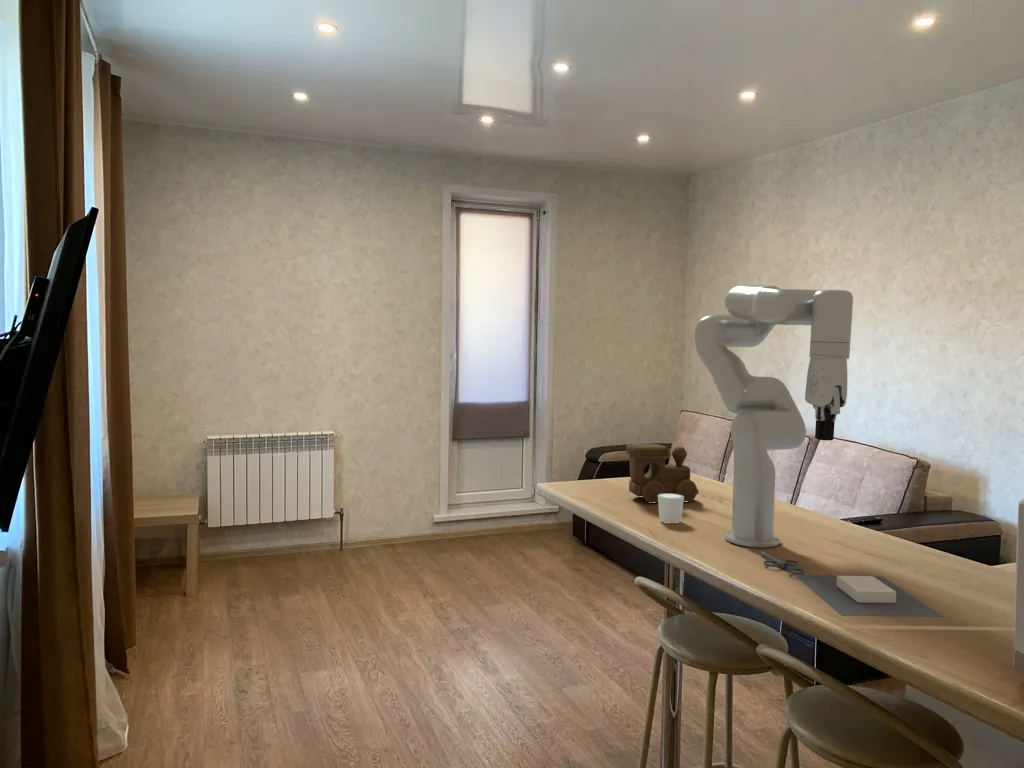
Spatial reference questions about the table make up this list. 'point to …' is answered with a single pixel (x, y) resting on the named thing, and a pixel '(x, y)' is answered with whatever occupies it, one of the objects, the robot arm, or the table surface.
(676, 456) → the wooden toy train
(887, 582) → the mat
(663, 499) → the white short tapered cylinder
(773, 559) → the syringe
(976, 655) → the table surface
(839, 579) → the tile
